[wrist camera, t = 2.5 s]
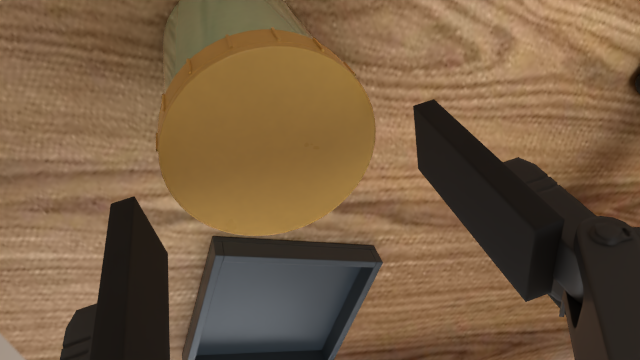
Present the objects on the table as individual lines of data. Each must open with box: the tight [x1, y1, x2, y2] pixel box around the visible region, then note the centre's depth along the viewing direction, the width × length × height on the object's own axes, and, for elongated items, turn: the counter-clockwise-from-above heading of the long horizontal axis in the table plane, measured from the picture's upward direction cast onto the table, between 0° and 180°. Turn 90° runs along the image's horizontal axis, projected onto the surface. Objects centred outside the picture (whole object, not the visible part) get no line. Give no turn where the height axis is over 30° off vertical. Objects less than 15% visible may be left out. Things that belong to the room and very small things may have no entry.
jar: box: [163, 0, 313, 94], centre depth 22 cm, size 8×8×10 cm
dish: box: [182, 236, 383, 360], centre depth 38 cm, size 13×13×2 cm
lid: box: [156, 27, 376, 236], centre depth 18 cm, size 8×8×2 cm
